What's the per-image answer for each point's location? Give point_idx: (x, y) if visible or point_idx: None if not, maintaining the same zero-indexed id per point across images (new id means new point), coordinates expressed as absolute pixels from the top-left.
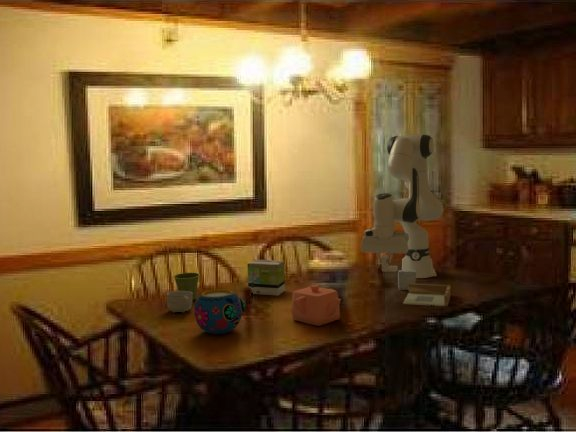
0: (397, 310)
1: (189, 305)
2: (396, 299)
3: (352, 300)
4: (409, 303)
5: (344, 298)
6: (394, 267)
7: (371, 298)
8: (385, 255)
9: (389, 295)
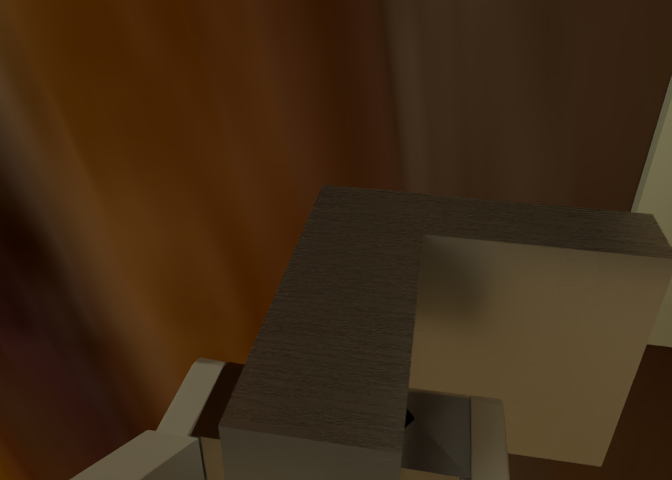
0: (536, 473)
1: None
2: (534, 175)
3: (123, 242)
4: (662, 343)
5: (30, 184)
6: (578, 411)
7: (267, 161)
8: (298, 460)
9: (446, 2)
